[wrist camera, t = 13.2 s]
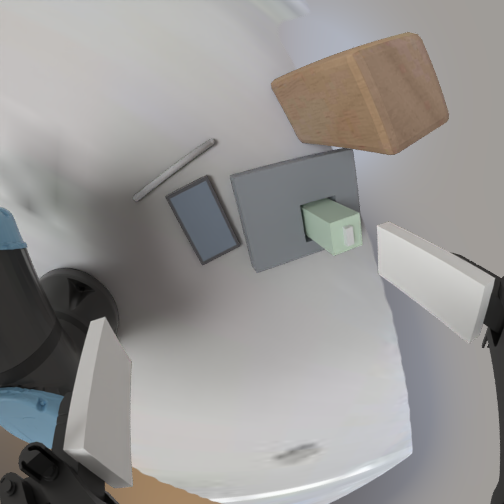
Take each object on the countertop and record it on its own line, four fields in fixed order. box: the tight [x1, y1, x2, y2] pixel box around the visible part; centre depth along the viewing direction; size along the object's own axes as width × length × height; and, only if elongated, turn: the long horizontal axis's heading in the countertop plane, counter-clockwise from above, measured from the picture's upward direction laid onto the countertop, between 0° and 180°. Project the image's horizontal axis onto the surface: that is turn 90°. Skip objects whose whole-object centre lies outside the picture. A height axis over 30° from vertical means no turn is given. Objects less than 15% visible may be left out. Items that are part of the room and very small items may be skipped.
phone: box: [166, 175, 240, 265], centre depth 40 cm, size 6×11×1 cm, turn 23°
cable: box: [133, 139, 215, 202], centre depth 36 cm, size 13×1×1 cm, turn 123°
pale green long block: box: [300, 198, 363, 256], centre depth 40 cm, size 4×4×10 cm
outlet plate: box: [230, 148, 362, 273], centre depth 43 cm, size 18×14×2 cm
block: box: [271, 32, 449, 155], centre depth 29 cm, size 10×10×20 cm
